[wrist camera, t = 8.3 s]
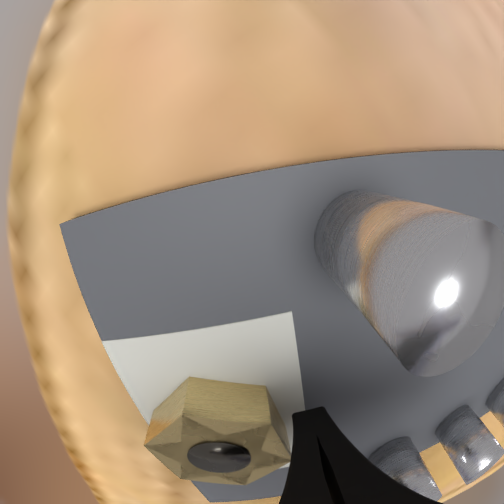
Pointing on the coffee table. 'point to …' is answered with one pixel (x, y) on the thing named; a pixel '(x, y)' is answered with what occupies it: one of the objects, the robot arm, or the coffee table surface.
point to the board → (275, 297)
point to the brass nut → (219, 432)
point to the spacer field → (421, 308)
